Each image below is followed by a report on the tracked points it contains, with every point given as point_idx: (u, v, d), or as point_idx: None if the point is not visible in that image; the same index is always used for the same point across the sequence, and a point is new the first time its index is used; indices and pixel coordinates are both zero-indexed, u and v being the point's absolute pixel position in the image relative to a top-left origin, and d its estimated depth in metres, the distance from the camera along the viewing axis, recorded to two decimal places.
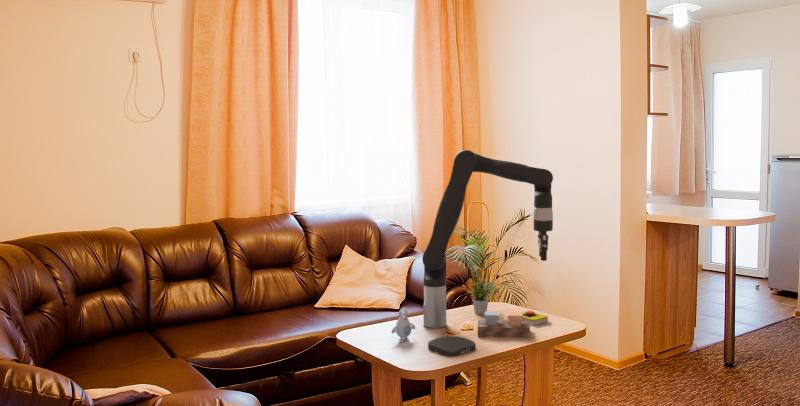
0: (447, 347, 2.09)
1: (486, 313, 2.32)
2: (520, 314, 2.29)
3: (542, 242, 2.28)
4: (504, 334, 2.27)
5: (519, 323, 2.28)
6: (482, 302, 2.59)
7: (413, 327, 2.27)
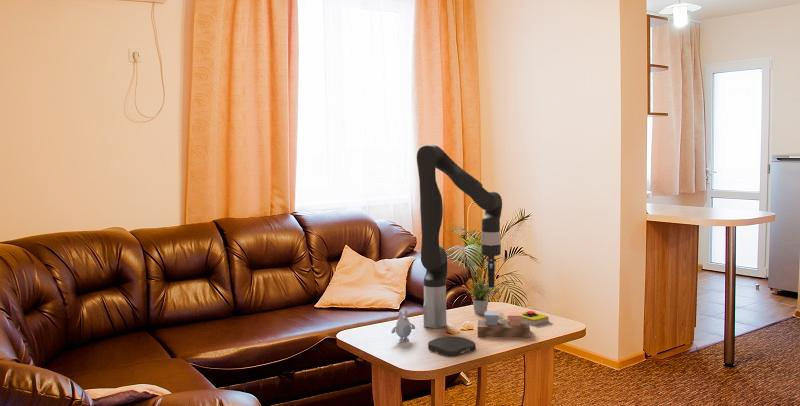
0: (447, 347, 2.09)
1: (486, 313, 2.32)
2: (520, 314, 2.29)
3: (489, 270, 2.25)
4: (504, 334, 2.27)
5: (519, 323, 2.28)
6: (482, 302, 2.59)
7: (413, 327, 2.27)
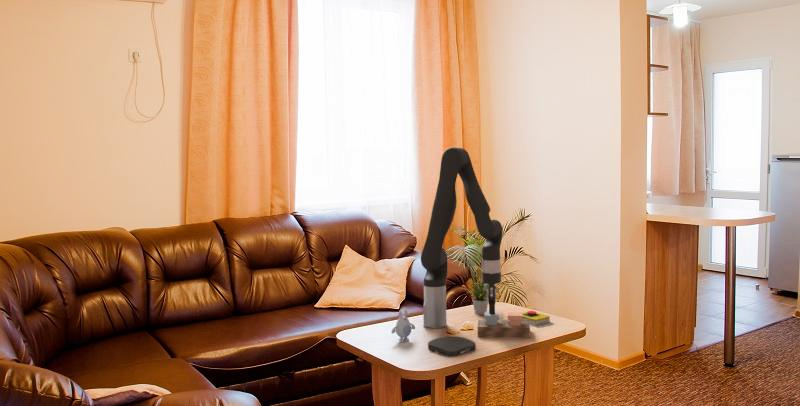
0: (447, 347, 2.09)
1: (486, 313, 2.32)
2: (520, 314, 2.29)
3: (489, 300, 2.27)
4: (504, 334, 2.27)
5: (519, 323, 2.28)
6: (482, 302, 2.59)
7: (413, 327, 2.27)
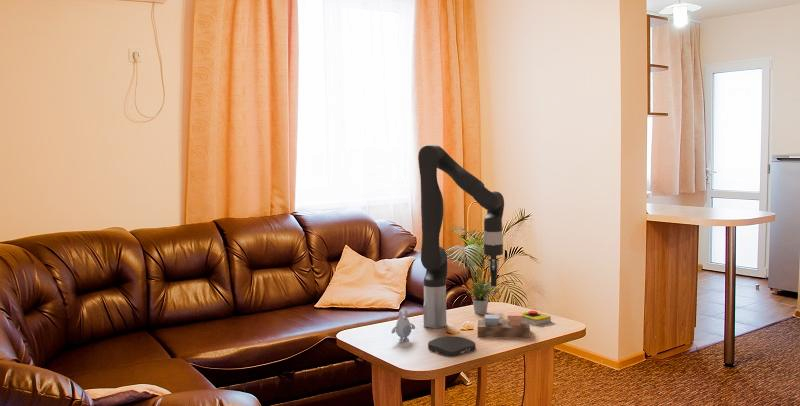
0: (447, 347, 2.09)
1: (486, 316, 2.32)
2: (520, 314, 2.29)
3: (491, 271, 2.26)
4: (504, 334, 2.27)
5: (519, 323, 2.28)
6: (482, 302, 2.59)
7: (413, 327, 2.27)
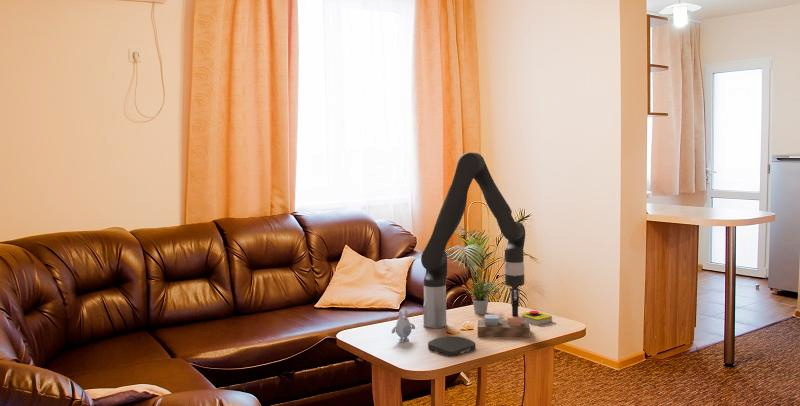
0: (447, 347, 2.09)
1: (486, 316, 2.32)
2: (520, 316, 2.29)
3: (513, 302, 2.26)
4: (504, 334, 2.27)
5: (519, 325, 2.28)
6: (482, 302, 2.59)
7: (413, 327, 2.27)
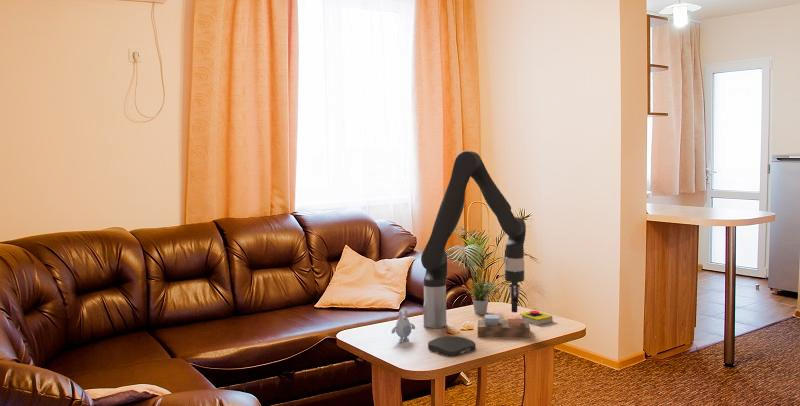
0: (447, 347, 2.09)
1: (486, 316, 2.32)
2: (520, 317, 2.29)
3: (512, 298, 2.25)
4: (504, 334, 2.27)
5: None
6: (482, 302, 2.59)
7: (413, 327, 2.27)
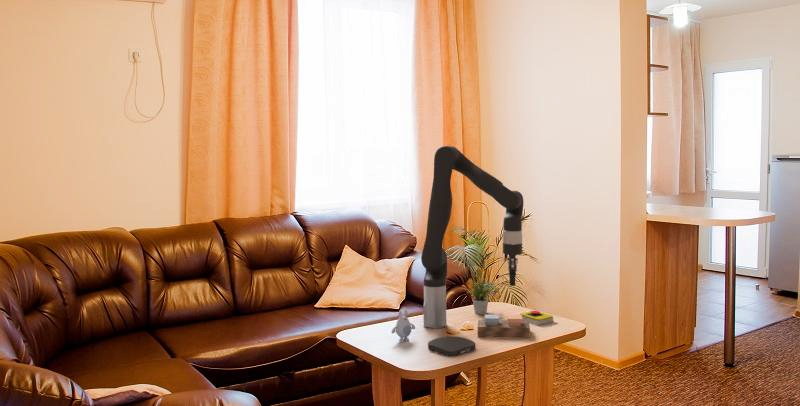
0: (447, 347, 2.09)
1: (486, 316, 2.32)
2: (520, 317, 2.29)
3: (510, 271, 2.25)
4: (504, 334, 2.27)
5: None
6: (482, 302, 2.59)
7: (413, 327, 2.27)
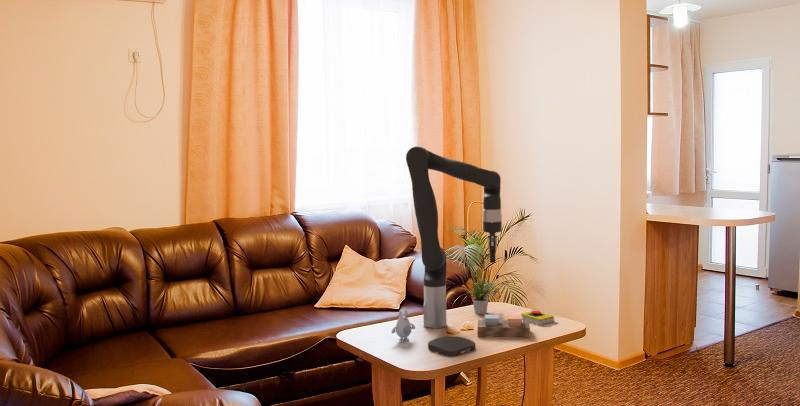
0: (447, 347, 2.09)
1: (486, 316, 2.32)
2: (520, 317, 2.29)
3: (490, 247, 2.34)
4: (504, 334, 2.27)
5: None
6: (482, 302, 2.59)
7: (413, 327, 2.27)
